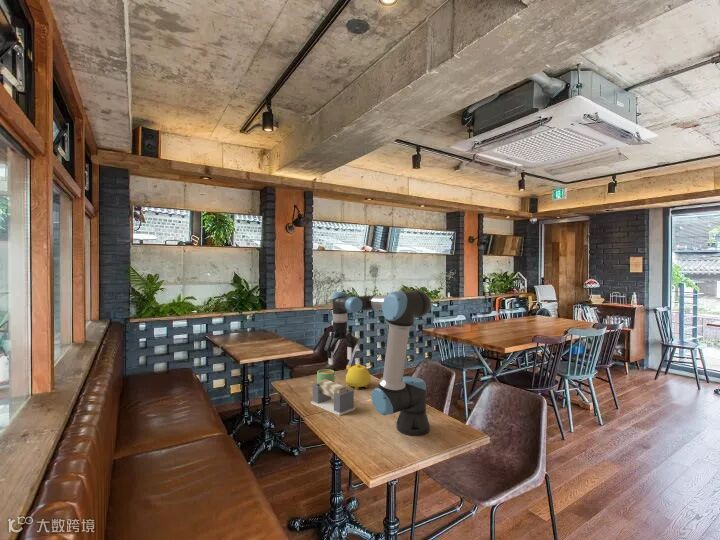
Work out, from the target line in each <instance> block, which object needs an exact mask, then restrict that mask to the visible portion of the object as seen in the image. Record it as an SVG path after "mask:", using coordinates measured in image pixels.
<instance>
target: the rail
mask: <svg viewBox="0 0 720 540" xmlns="http://www.w3.org/2000/svg"><path fill="white" fill-rule="evenodd" d="M346 389H347V386H346V385H345V386H344V385H341V384H340V383H336V382H335V381H334V382H332V381H329V380H327V379H325V380H321V381H319V392H321V393H323V394H325V395H327V396H330V397H331V398H332V399H334V393H335V392H336V393H338V394H342V393H345V392H346Z"/></svg>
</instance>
